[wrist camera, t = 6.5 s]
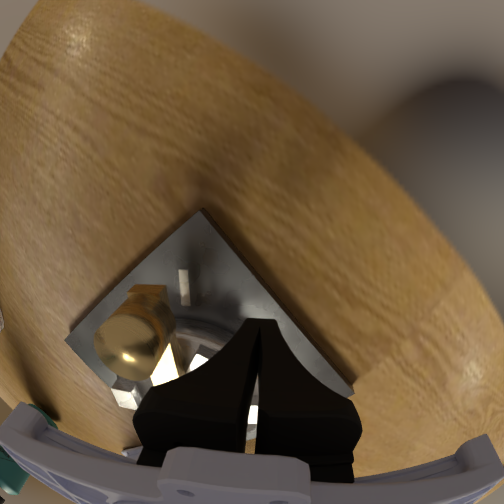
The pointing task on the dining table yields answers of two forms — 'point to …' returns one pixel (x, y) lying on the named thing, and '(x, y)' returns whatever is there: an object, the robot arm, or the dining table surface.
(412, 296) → the dining table surface
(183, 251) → the dark grey square plate
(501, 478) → the robot arm
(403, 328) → the dining table surface
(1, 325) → the foam cup
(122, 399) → the metal round piece
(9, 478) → the beverage bottle
